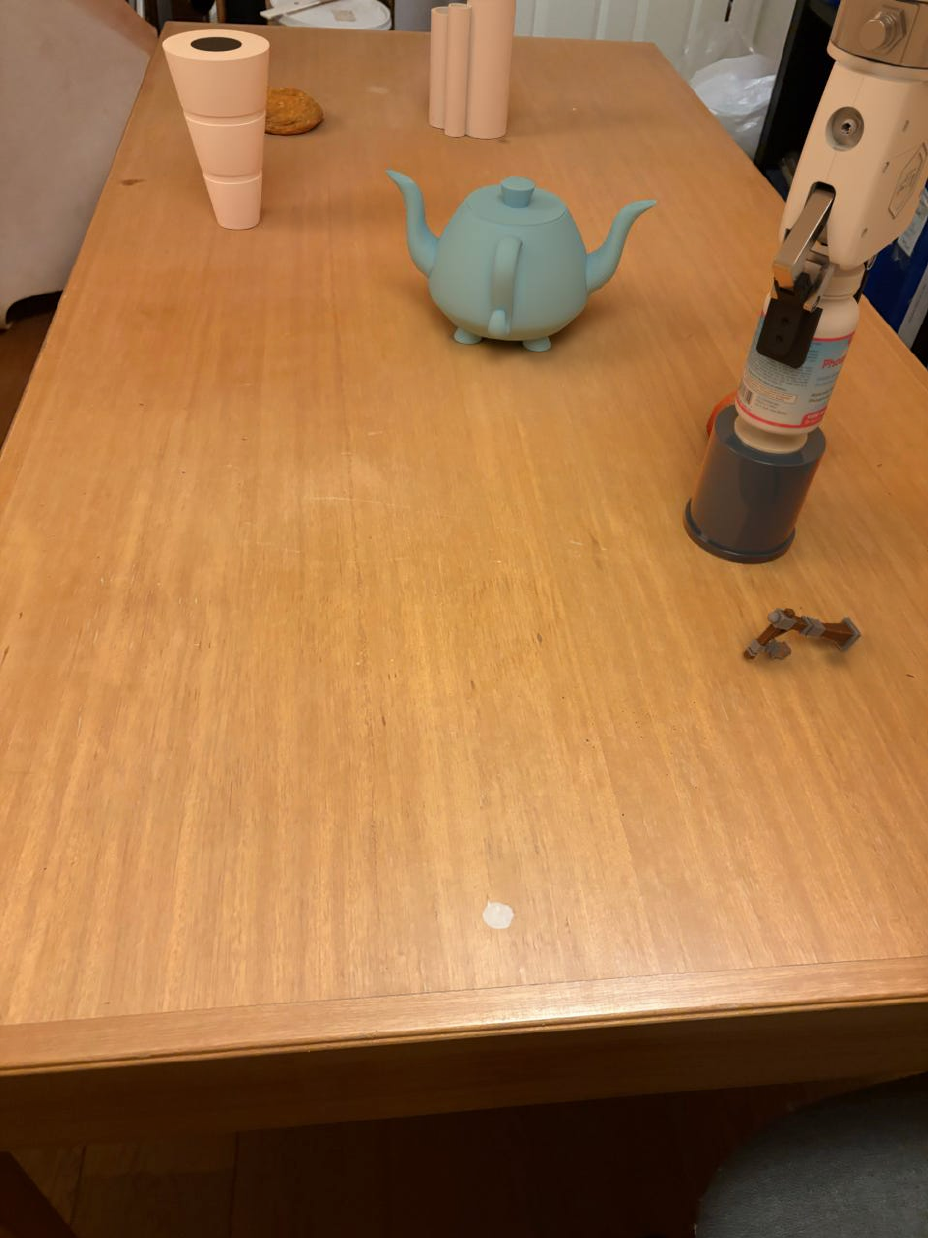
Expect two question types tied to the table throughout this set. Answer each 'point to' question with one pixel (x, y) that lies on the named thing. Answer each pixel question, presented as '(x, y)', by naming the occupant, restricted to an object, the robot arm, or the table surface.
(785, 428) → the pill bottle
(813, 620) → the wooden post with brackets
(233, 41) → the pink tapered cylinder
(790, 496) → the upturned cup
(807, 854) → the table surface
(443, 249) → the teapot
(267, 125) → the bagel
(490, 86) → the vase
